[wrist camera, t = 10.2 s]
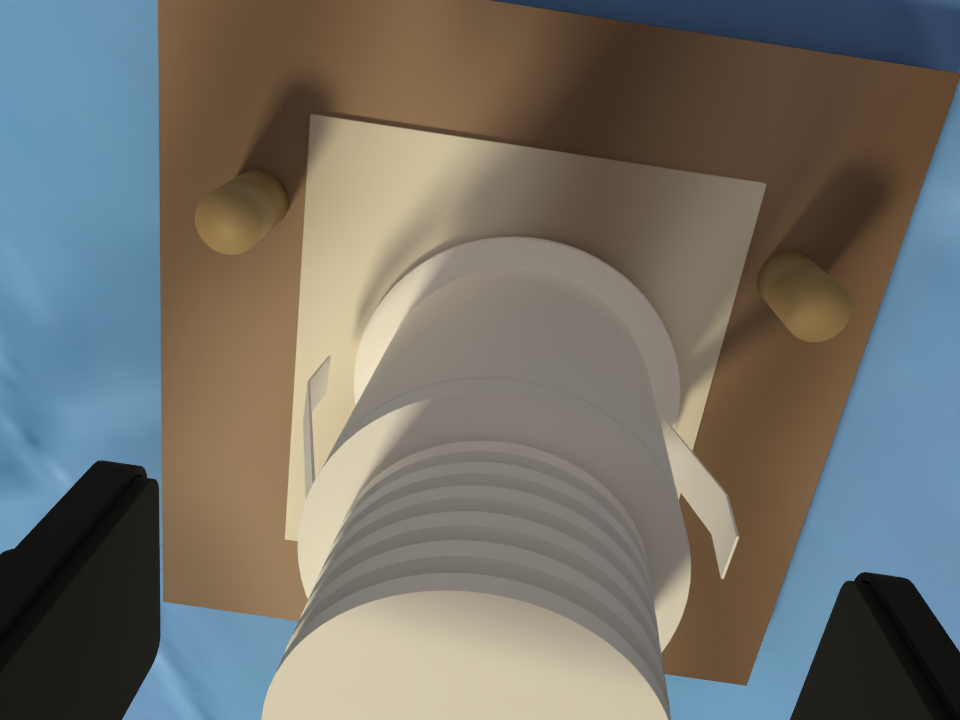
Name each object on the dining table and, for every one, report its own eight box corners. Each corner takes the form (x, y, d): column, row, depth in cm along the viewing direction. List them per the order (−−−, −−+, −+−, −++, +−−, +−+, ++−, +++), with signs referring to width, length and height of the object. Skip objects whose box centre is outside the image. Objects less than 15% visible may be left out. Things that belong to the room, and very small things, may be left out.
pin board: (932, 69, 17) (1020, 82, 14) (735, 652, 22) (767, 749, 20) (181, -48, 16) (108, -60, 13) (180, 572, 22) (129, 658, 19)
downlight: (742, 276, 17) (949, 584, 8) (651, 556, 20) (725, 1027, 11) (358, 196, 17) (116, 407, 8) (321, 485, 20) (109, 891, 11)
